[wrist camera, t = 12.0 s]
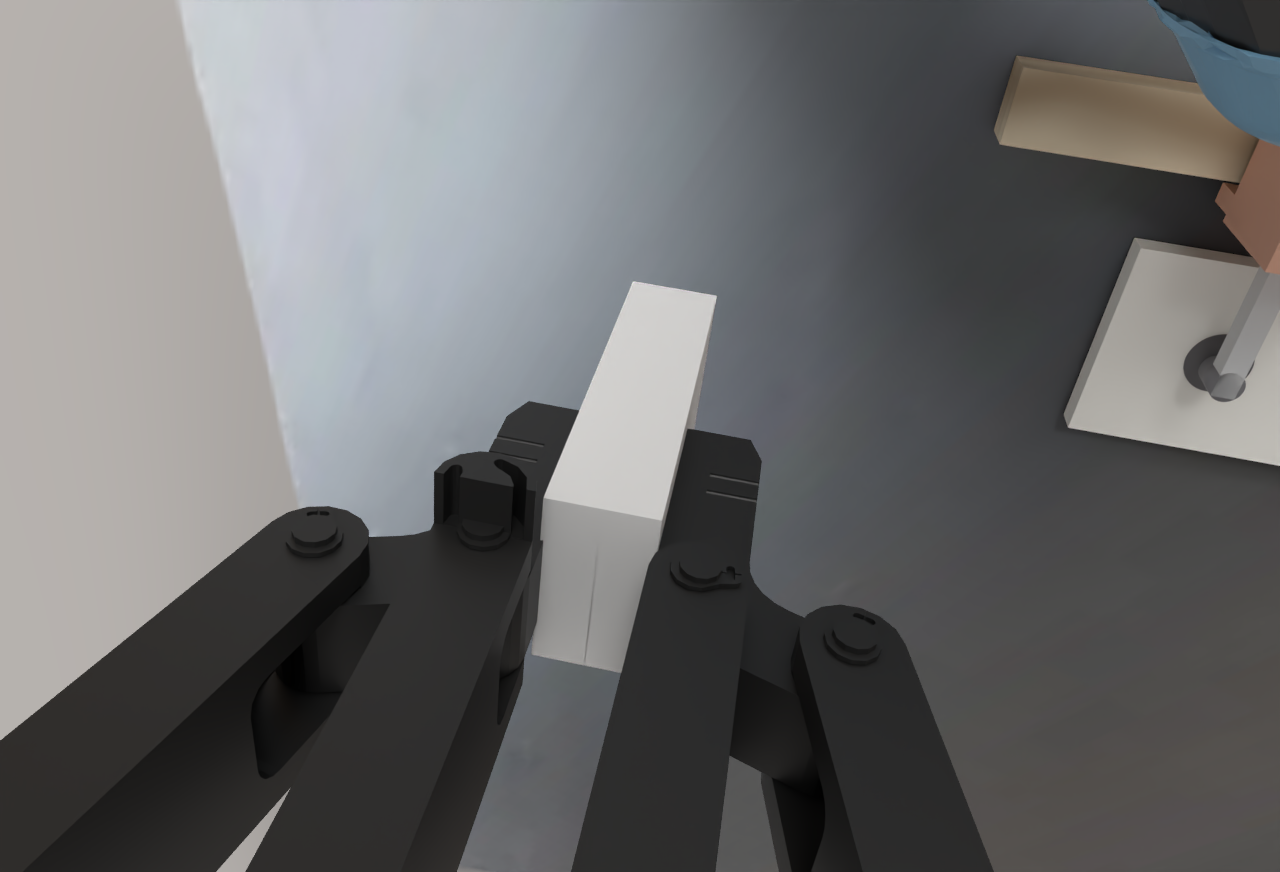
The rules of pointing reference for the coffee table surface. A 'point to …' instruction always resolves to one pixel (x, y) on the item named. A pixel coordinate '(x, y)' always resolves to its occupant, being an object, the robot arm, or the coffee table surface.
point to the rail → (1120, 120)
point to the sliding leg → (1276, 238)
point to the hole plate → (1177, 357)
